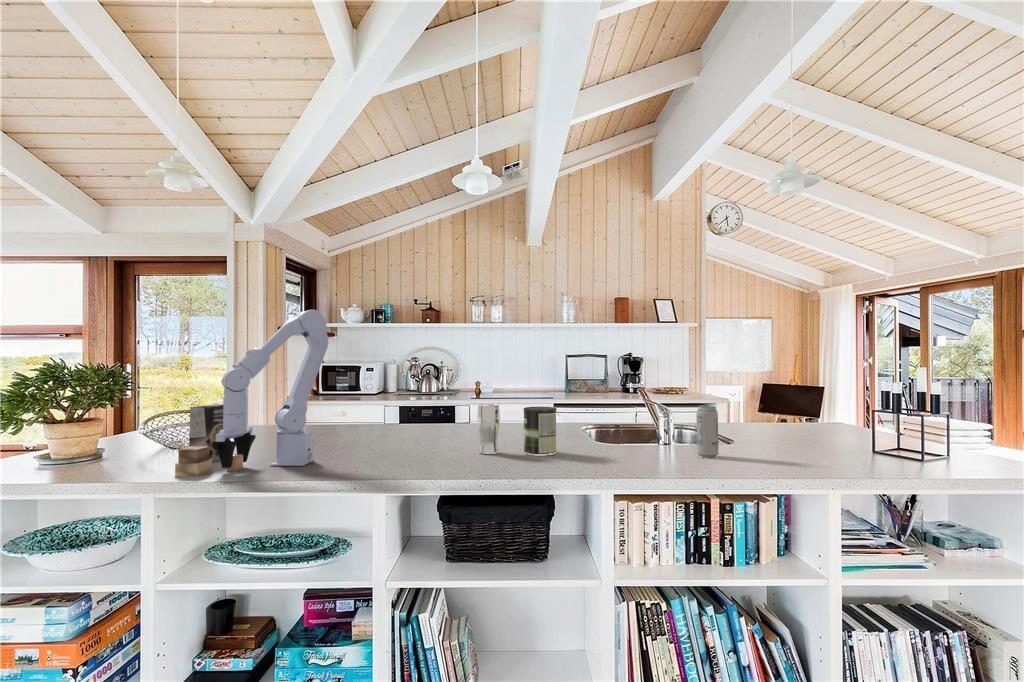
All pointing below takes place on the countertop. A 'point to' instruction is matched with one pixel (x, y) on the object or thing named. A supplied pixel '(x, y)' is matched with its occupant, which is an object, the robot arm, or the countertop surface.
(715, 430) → the energy drink can
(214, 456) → the coffee box
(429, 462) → the countertop surface
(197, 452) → the walnut slab
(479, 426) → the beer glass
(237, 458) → the light brown wooden cube
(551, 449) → the coffee can
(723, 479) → the countertop surface
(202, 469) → the oak slab
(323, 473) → the countertop surface
